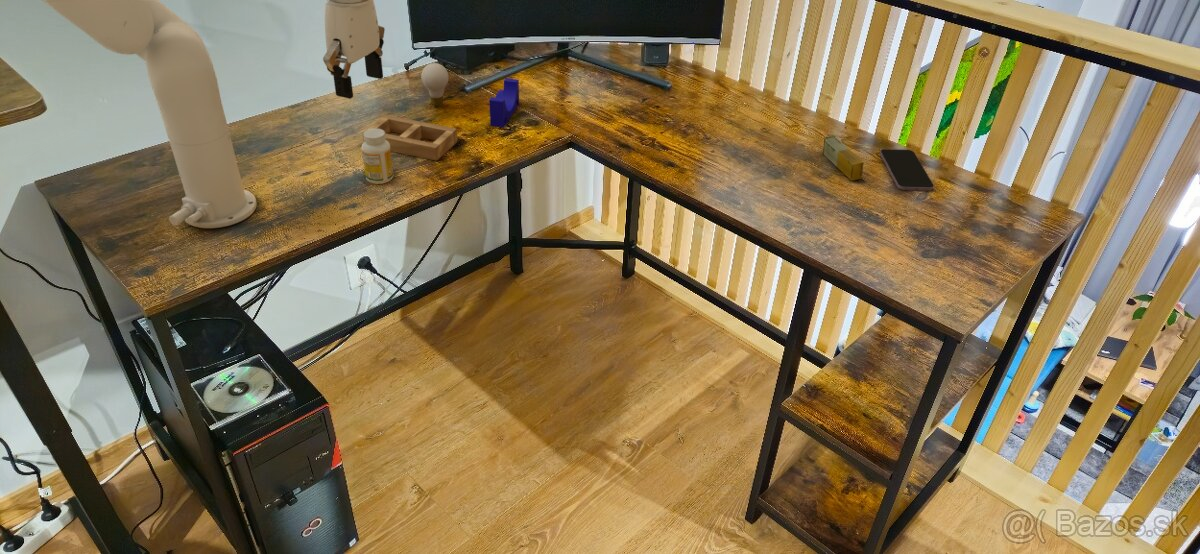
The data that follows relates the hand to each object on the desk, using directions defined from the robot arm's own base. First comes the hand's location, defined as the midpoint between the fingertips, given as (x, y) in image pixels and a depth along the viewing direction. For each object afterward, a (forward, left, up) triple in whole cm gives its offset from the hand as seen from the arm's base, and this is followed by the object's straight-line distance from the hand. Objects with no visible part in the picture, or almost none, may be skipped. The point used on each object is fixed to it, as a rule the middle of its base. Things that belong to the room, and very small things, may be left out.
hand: (360, 86), depth 152 cm
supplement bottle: (+1, -1, -19) cm, 19 cm away
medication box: (+40, -85, -19) cm, 96 cm away
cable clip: (+35, -11, -19) cm, 42 cm away
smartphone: (+44, -98, -19) cm, 109 cm away
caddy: (+15, 0, -19) cm, 24 cm away
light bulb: (+33, +4, -19) cm, 39 cm away
